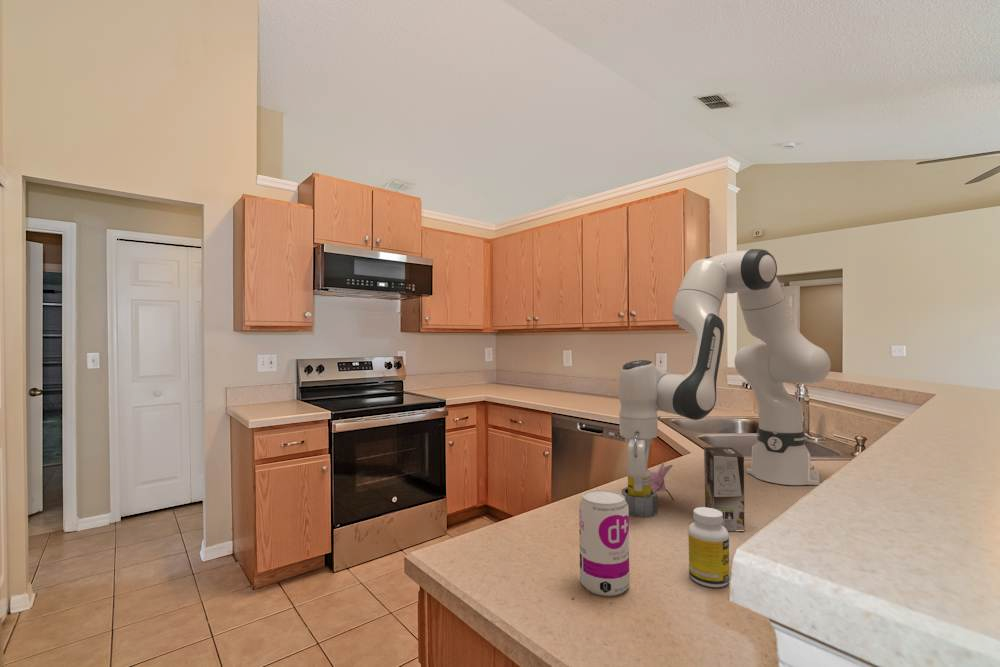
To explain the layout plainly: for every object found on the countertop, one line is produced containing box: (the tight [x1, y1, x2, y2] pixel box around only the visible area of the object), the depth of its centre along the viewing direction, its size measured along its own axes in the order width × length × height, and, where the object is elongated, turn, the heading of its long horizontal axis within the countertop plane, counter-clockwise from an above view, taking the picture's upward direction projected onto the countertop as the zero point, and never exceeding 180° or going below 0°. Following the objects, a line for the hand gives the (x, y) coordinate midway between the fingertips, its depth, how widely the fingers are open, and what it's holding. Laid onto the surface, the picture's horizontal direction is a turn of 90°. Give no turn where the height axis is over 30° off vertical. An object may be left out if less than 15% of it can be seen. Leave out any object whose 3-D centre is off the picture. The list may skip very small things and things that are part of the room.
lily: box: [650, 461, 675, 501], centre depth 121 cm, size 12×12×10 cm
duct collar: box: [621, 486, 658, 518], centre depth 114 cm, size 8×8×4 cm
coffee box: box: [703, 446, 745, 532], centre depth 106 cm, size 9×6×16 cm
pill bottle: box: [687, 506, 730, 588], centre depth 82 cm, size 6×6×12 cm
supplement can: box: [578, 489, 630, 597], centre depth 81 cm, size 8×8×15 cm
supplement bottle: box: [627, 465, 651, 497], centre depth 115 cm, size 5×5×10 cm
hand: (639, 485), depth 115 cm, fingers closed on supplement bottle, 5 cm apart
